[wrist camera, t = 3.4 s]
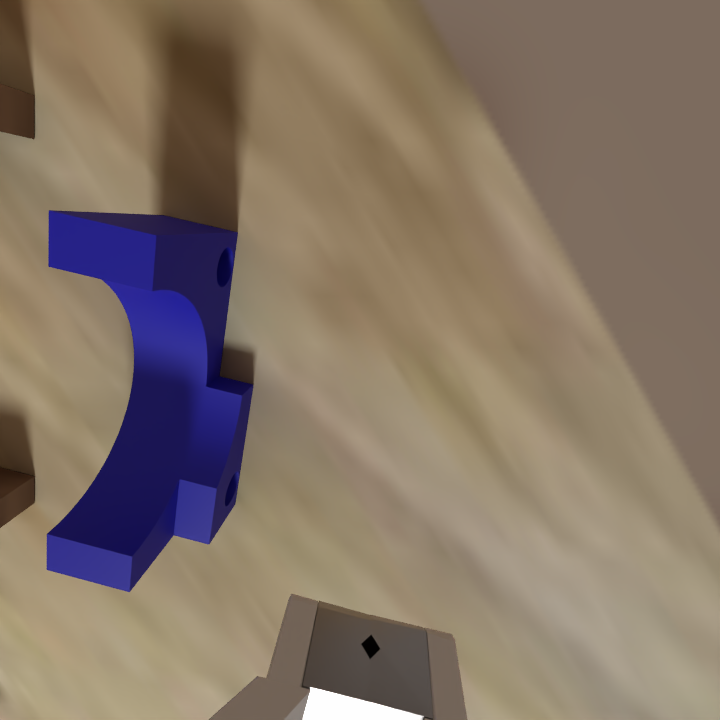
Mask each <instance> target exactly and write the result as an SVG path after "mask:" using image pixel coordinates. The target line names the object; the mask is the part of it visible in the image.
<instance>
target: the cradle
mask: <svg viewBox="0 0 720 720" xmlns="http://www.w3.org/2000/svg"><path fill="white" fill-rule="evenodd" d="M0 131H1V132H5V133H10V134H14V135H19V136H23V137H27V138H32V139H34V95H31V94H28V93H25V92H23V91H20V90H17V89H14V88H11V87H8V86H5V85H2V84H0ZM32 504H34V476H31V475H27V474H23V473H19V472H15V471H11V470H8V469H4V468H0V528H1V527H2V526H3V525H5V524H6V523H8V522H9V521H10V520H12V519H13V518H14V517H16V516H17V515H18V514H20V513H21V512H23V511H24V510H25V509H27V508H28V507H29V506H31V505H32Z"/></svg>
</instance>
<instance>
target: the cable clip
mask: <svg viewBox="0 0 720 720" xmlns="http://www.w3.org/2000/svg"><path fill="white" fill-rule="evenodd" d="M237 235H238V232H234V231H230V230H225V229H221V228H217V227H212V226H208V225H204V224H199V223H195V222H191V221H186V220H182V219H178V218H173V217H169V216H164V215H145V214H121V213H98V212H74V211H50V210H49V267H52V268H57V269H61V270H65V271H69V272H73V273H78V274H82V275H86V276H90V277H94V278H99V279H102V280H103V281H104V282H105V283H106V284H107V285H108V286H110V288H111V289H112V290H113V291H114V292H115V293H116V295H117V296H118V298H119V299H120V301H121V303H122V305H123V307H124V309H125V311H126V313H127V316H128V319H129V322H130V326H131V330H132V336H133V343H134V374H133V382H132V388H131V394H130V399H129V403H128V407H127V410H126V414H125V417H124V420H123V423H122V426H121V428H120V431H119V434H118V436H117V438H116V441H115V443H114V445H113V447H112V450H111V452H110V454H109V456H108V458H107V459H106V461H105V463H104V465H103V467H102V468H101V470H100V472H99V473H98V475H97V477H96V478H95V480H94V481H93V483H92V484H91V486H90V487H89V488H88V490H87V491H86V493H85V494H84V495H83V497H82V498H81V499H80V500H79V502H78V503H77V504H76V505H75V506H74V508H73V509H72V510H71V511H70V512H69V513H68V514H67V515H66V516H65V517H64V518H63V520H62V521H61V522H60V523H59V524H58V525H56V526H55V527H54V528H53V529H52V530H51V531H50V532H49V533H48V534H47V570H50V571H53V572H57V573H61V574H64V575H68V576H72V577H76V578H79V579H83V580H87V581H90V582H94V583H98V584H102V585H105V586H109V587H113V588H116V589H120V590H124V591H127V592H130V591H131V590H132V588H133V587H134V586H135V584H136V583H137V582H138V581H139V579H140V578H141V577H142V575H143V574H144V573H145V571H146V570H147V569H148V568H149V566H150V565H151V564H152V562H153V561H154V560H155V559H156V557H157V556H158V555H159V553H160V552H161V551H162V550H163V548H164V547H165V546H166V544H167V543H168V542H169V540H170V539H171V538H172V537H173V535H175V536H179V537H183V538H186V539H190V540H194V541H198V542H202V543H205V544H210V542H211V541H212V539H213V538H214V536H215V535H216V533H217V532H218V530H219V528H220V527H221V525H222V524H223V522H224V521H225V519H226V517H227V516H228V514H229V513H230V511H231V510H232V508H233V507H234V505H235V502H236V496H237V489H238V483H239V476H240V470H241V463H242V457H243V450H244V443H245V437H246V430H247V424H248V417H249V411H250V404H251V398H252V391H253V384H249V383H245V382H241V381H237V380H233V379H229V378H225V377H220V368H221V360H222V352H223V344H224V336H225V329H226V321H227V313H228V305H229V297H230V290H231V282H232V274H233V266H234V258H235V250H236V243H237Z"/></svg>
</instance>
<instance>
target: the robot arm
mask: <svg viewBox="0 0 720 720" xmlns="http://www.w3.org/2000/svg"><path fill="white" fill-rule="evenodd" d="M209 720H467V715H466V709H465V702H464V696H463V689H462V683H461V676H460V670H459V663H458V657H457V650H456V644H455V639H454V637H453V636H452V634H449V633H445V632H441V631H437V630H432V629H428V628H423V627H420V626H415V625H411V624H407V623H403V622H399V621H395V620H391V619H386V618H382V617H378V616H374V615H368V614H365V613H361V612H358V611H354V610H350V609H347V608H343V607H340V606H336V605H333V604H329V603H325V602H322V601H319V602H318V601H316V600H312V599H309V598H305V597H302V596H298V595H295V594H291V596H290V598H289V600H288V604H287V607H286V611H285V614H284V618H283V621H282V625H281V629H280V632H279V636H278V639H277V643H276V646H275V650H274V653H273V657H272V660H271V664H270V667H269V671H268V674H267V678H263V677H259V676H257V677H256V678H255V679H254V680H253V681H252V682H251V683H249V684H248V685H247V686H246V687H245V688H244V689H243V690H242V691H240V692H239V693H238V694H237V695H236V696H235V697H234V698H233V699H231V700H230V701H229V702H228V703H227V704H226V705H225V706H223V707H222V708H221V709H220V710H219V711H218V712H217V713H216V714H214V715H213V716H212V717H211V718H210V719H209Z"/></svg>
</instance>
